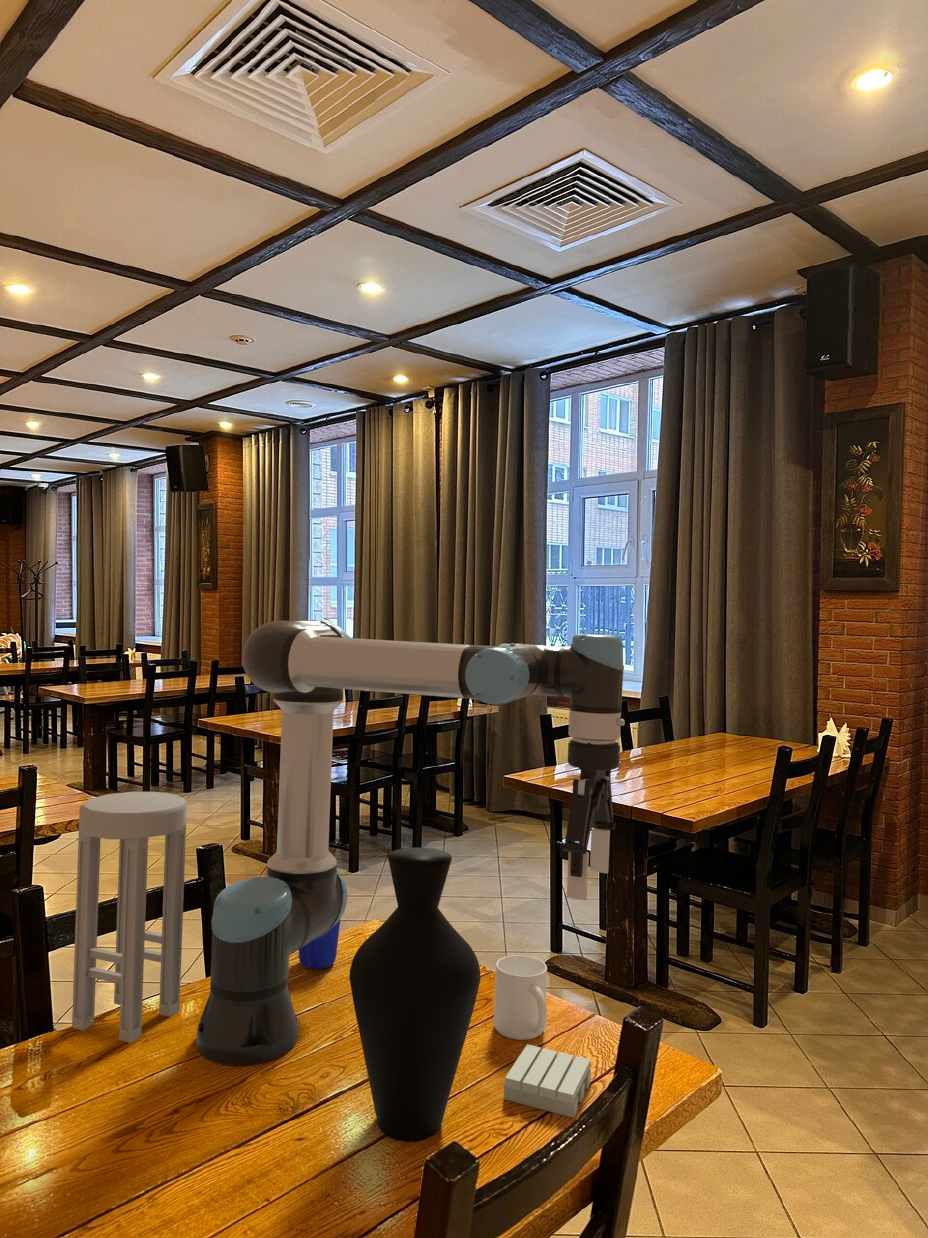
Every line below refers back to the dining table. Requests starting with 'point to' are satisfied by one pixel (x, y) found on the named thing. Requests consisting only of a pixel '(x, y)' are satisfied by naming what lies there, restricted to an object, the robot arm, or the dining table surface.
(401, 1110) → the vase
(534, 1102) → the block
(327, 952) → the mug
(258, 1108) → the dining table surface
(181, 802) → the stool
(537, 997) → the mug
